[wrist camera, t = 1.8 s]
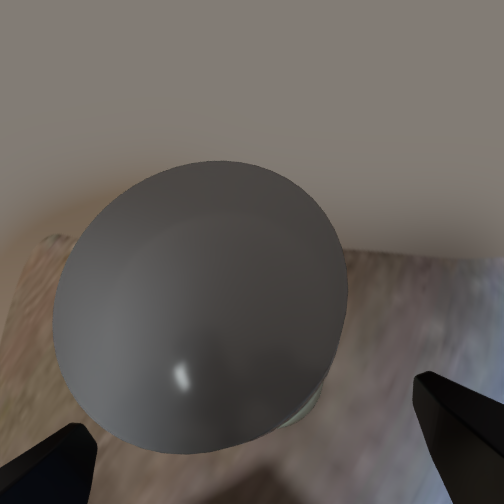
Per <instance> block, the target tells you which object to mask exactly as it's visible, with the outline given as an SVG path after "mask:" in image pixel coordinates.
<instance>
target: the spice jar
mask: <svg viewBox="0 0 504 504" xmlns="http://www.w3.org/2000/svg"><path fill="white" fill-rule="evenodd" d="M347 296H348V282H347V268H346V263H345V259H344V255H343V250H342V247H341V244H340V242H339V239H338V237H337V234H336V232H335V229H334V228H333V226H332V224H331V223H330V221H329V219H328V217H327V216H326V214H325V213H324V212H323V210H322V209H321V208H320V207H319V205H318V204H317V203H316V202H315V201H314V199H313V198H312V197H310V196H309V195H308V194H307V193H306V192H305V191H304V190H303V189H302V188H300V187H299V186H297V185H296V184H294V183H293V182H292V181H290V180H289V179H287V178H285V177H283V176H281V175H279V174H277V173H275V172H273V171H271V170H268V169H265V168H261V167H259V166H256V165H251V164H246V163H241V162H231V161H206V162H198V163H191V164H187V165H183V166H179V167H175V168H172V169H169V170H166V171H163V172H160V173H158V174H156V175H153V176H151V177H149V178H147V179H145V180H143V181H142V182H140V183H138V184H136V185H134V186H133V187H131V188H130V189H128V190H127V191H125V192H124V193H123V194H121V195H120V196H118V197H117V198H116V199H115V200H113V201H112V202H111V203H110V204H109V205H108V206H106V207H105V208H104V209H103V210H102V212H101V213H99V215H97V217H96V218H95V219H94V220H93V221H92V222H91V223H90V225H89V226H88V227H87V229H86V230H85V231H84V232H83V234H82V235H81V237H80V238H79V240H78V241H77V243H76V244H75V246H74V248H73V250H72V252H71V254H70V255H69V257H68V259H67V262H66V264H65V266H64V269H63V271H62V274H61V277H60V280H59V284H58V287H57V291H56V296H55V302H54V309H53V340H54V346H55V352H56V357H57V360H58V364H59V367H60V370H61V373H62V375H63V377H64V380H65V382H66V384H67V386H68V388H69V390H70V391H71V393H72V394H73V396H74V398H75V399H76V401H77V402H78V404H79V405H80V406H81V407H82V408H83V409H84V411H85V412H86V413H87V414H88V415H89V416H90V417H91V418H92V419H93V420H94V421H95V422H96V423H98V424H99V425H100V426H101V427H102V428H104V429H105V430H106V431H108V432H109V433H111V434H113V435H114V436H116V437H118V438H119V439H121V440H123V441H125V442H128V443H130V444H133V445H135V446H138V447H140V448H143V449H147V450H152V451H156V452H161V453H170V454H197V453H206V452H212V451H217V450H221V449H225V448H229V447H233V446H236V445H240V444H243V443H246V442H250V441H253V440H255V439H258V438H260V437H262V436H264V435H266V434H268V433H270V432H272V431H274V430H275V429H278V428H283V427H287V426H289V425H292V424H294V423H296V422H298V421H300V420H301V419H302V418H304V417H305V416H306V415H307V414H308V413H309V412H310V411H311V410H312V409H313V408H314V406H315V405H316V403H317V401H318V399H319V397H320V394H321V391H322V386H323V381H324V379H325V377H326V376H327V374H328V372H329V369H330V367H331V365H332V362H333V360H334V358H335V355H336V351H337V347H338V344H339V340H340V336H341V332H342V328H343V324H344V319H345V315H346V308H347Z"/></svg>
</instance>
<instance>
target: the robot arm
mask: <svg viewBox="0 0 504 504" xmlns="http://www.w3.org/2000/svg"><path fill="white" fill-rule="evenodd" d="M412 401H413V407H414V410H415V412H416V415H417V418H418V421H419V424H420V426H421V429H422V432H423V435H424V438H425V441H426V444H427V447H428V450H429V452H430V455H431V457H432V460H433V462H434V464H435V466H436V468H437V470H438V472H439V474H440V476H441V478H442V481H443V483H444V485H445V487H446V489H447V491H448V494H449V496H450V498H451V500H452V502H453V504H504V404H502V403H500V402H497V401H495V400H493V399H491V398H488V397H486V396H484V395H482V394H479V393H477V392H475V391H473V390H471V389H469V388H466V387H464V386H462V385H460V384H458V383H455V382H453V381H451V380H449V379H447V378H445V377H443V376H440V375H438V374H436V373H434V372H432V371H426V372H424V373H421V374H418V375H416V376H415V377H414V382H413V398H412ZM97 449H98V448H97V443H96V441H95V440H94V438H93V437H92V435H91V434H90V433H89V431H88V430H87V428H86V427H85V426H84V425H83V424H81V423H69V424H68V425H66V426H65V427H63V428H62V429H60V430H59V431H57V432H56V433H54V434H53V435H51V436H49V437H48V438H46V439H45V440H43V441H42V442H40V443H39V444H37V445H36V446H34V447H32V448H31V449H29V450H28V451H26V452H25V453H23V454H21V455H20V456H18V457H17V458H15V459H13V460H12V461H10V462H9V463H7V464H5V465H4V466H2V467H1V468H0V504H87V503H88V499H89V495H90V491H91V485H92V479H93V473H94V467H95V461H96V455H97Z"/></svg>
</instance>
